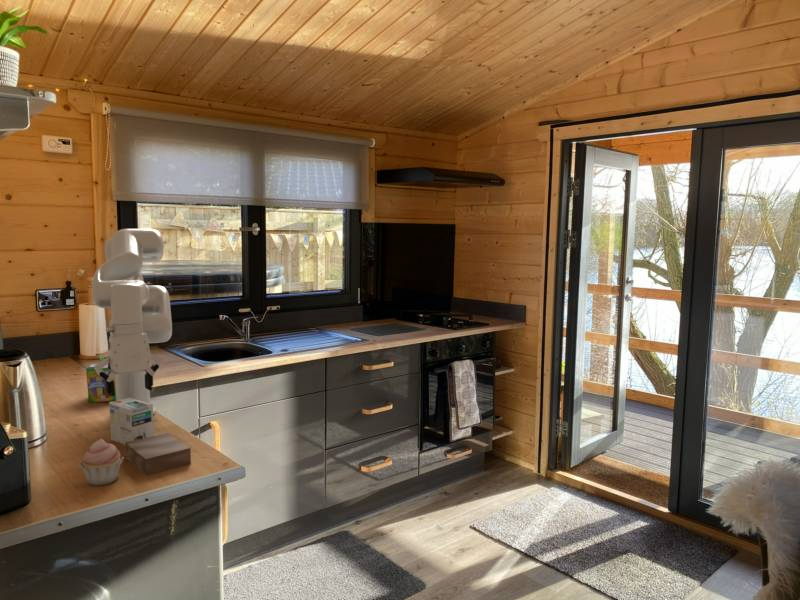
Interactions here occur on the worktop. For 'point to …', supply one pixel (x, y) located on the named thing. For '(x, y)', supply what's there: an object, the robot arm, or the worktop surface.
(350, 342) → the worktop surface
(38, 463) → the worktop surface
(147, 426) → the light bulb box
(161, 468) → the walnut base block
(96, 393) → the chalk box
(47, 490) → the worktop surface
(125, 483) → the worktop surface
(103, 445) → the cupcake
